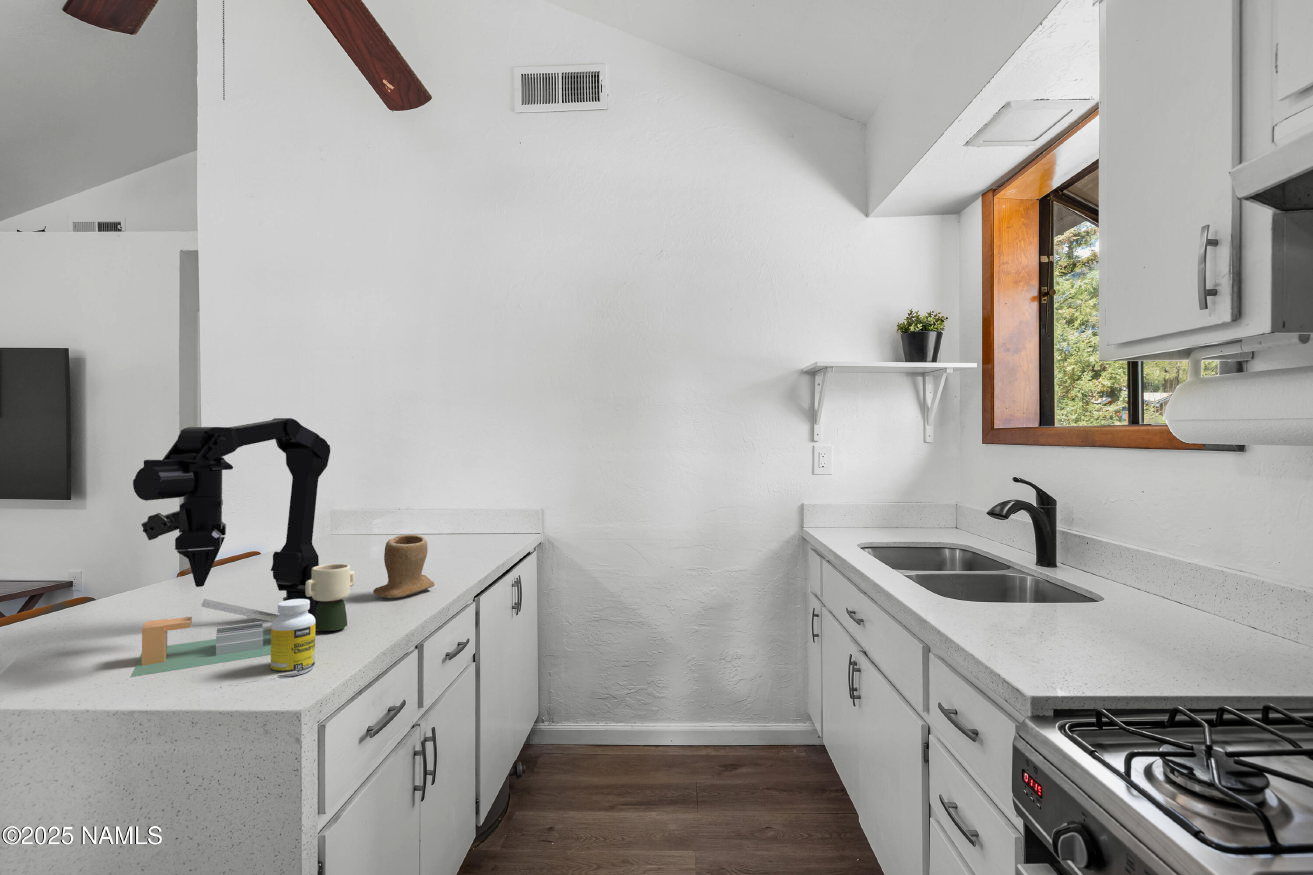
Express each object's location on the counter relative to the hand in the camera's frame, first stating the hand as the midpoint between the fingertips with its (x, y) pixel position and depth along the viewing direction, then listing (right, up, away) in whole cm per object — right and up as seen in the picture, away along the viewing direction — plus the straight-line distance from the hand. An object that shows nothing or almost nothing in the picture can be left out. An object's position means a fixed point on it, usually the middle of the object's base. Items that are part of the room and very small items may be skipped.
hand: (202, 581), depth 113 cm
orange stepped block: (-3, -12, -5) cm, 13 cm away
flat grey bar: (+7, -6, +2) cm, 9 cm away
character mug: (+16, -14, +15) cm, 25 cm away
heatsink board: (+4, -13, 0) cm, 14 cm away
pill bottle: (+21, -14, -8) cm, 26 cm away
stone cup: (+19, -14, +45) cm, 51 cm away
